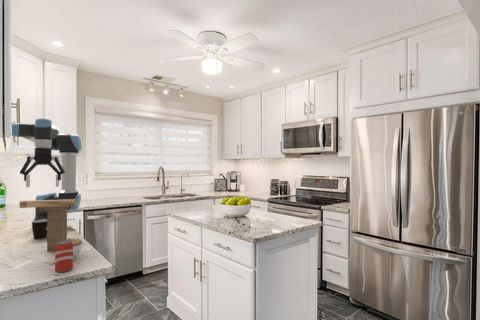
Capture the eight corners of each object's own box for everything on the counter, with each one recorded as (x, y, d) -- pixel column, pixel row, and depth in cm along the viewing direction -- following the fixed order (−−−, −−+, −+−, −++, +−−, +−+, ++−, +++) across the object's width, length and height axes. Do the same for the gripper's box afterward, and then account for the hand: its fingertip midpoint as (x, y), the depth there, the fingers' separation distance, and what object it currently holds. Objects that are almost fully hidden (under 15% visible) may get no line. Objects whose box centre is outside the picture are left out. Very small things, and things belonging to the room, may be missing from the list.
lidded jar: (82, 259, 131) (82, 239, 131) (54, 263, 126) (54, 242, 126) (81, 253, 141) (82, 234, 141) (56, 256, 135) (56, 237, 135)
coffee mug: (39, 240, 163) (40, 222, 163) (27, 239, 165) (27, 222, 165) (56, 234, 174) (57, 218, 174) (45, 234, 176) (45, 218, 176)
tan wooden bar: (22, 206, 144) (23, 200, 144) (76, 204, 151) (76, 199, 151) (19, 207, 140) (19, 201, 140) (74, 206, 147) (74, 200, 147)
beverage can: (69, 266, 123) (69, 239, 123) (74, 270, 119) (75, 241, 119) (53, 270, 119) (53, 241, 119) (58, 274, 114) (58, 244, 114)
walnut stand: (44, 247, 149) (45, 205, 149) (68, 246, 152) (68, 204, 152) (38, 253, 140) (38, 207, 140) (63, 251, 144) (64, 207, 144)
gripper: (12, 146, 144) (11, 188, 144) (67, 147, 152) (67, 187, 152) (18, 147, 151) (18, 186, 152) (71, 148, 159) (70, 185, 159)
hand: (42, 187), depth 152 cm, fingers open, 13 cm apart
